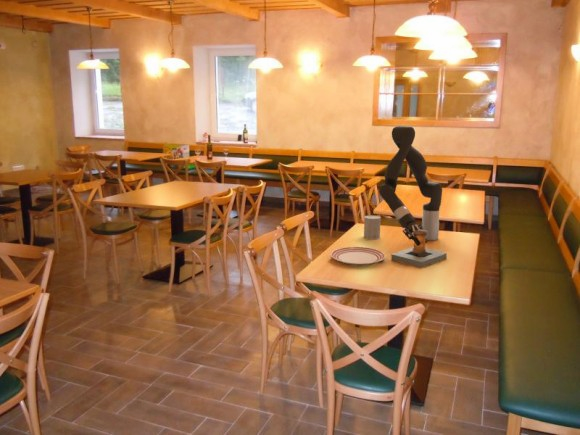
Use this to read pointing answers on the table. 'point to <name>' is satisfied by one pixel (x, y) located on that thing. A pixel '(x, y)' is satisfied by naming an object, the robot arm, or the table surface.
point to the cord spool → (421, 237)
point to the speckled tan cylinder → (372, 227)
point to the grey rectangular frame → (412, 259)
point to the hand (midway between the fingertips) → (422, 243)
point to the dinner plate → (358, 255)
